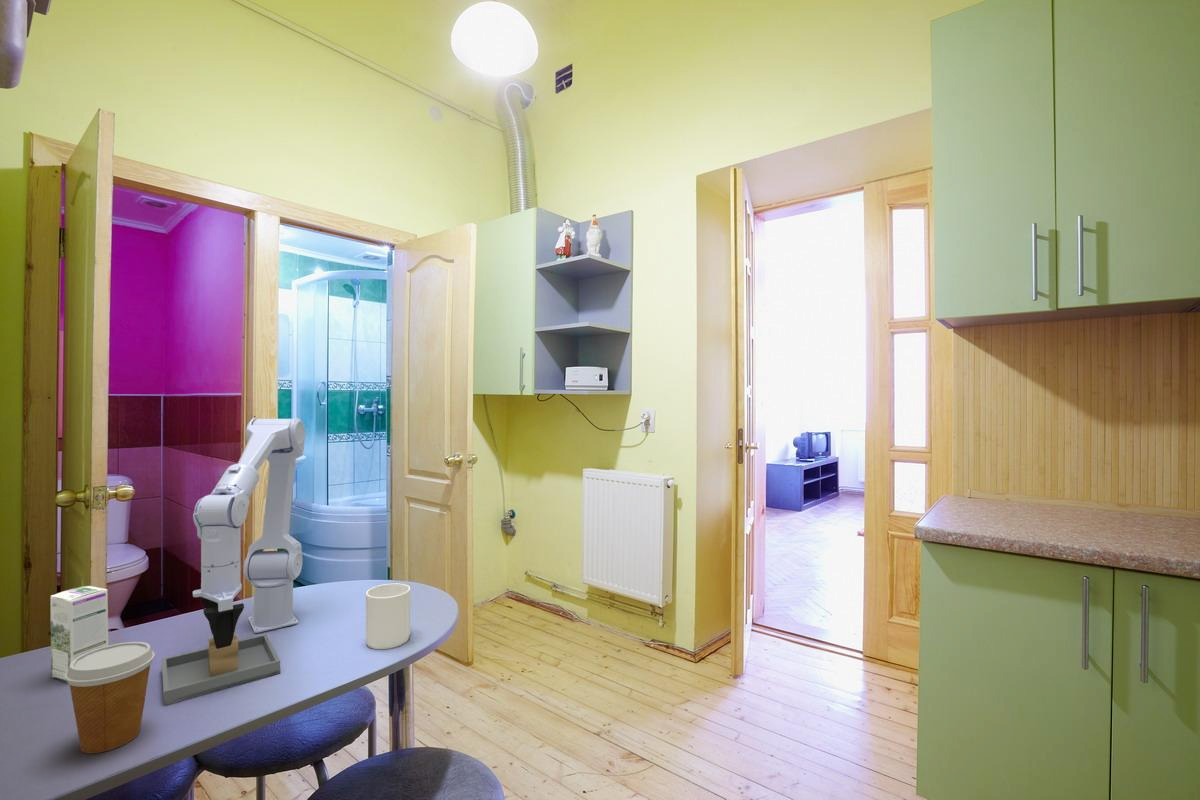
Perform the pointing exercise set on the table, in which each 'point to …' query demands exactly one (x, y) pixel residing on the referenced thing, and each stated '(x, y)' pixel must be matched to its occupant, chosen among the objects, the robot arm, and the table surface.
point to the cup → (387, 615)
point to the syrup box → (77, 625)
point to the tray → (193, 678)
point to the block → (222, 657)
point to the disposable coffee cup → (109, 694)
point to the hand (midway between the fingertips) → (221, 638)
